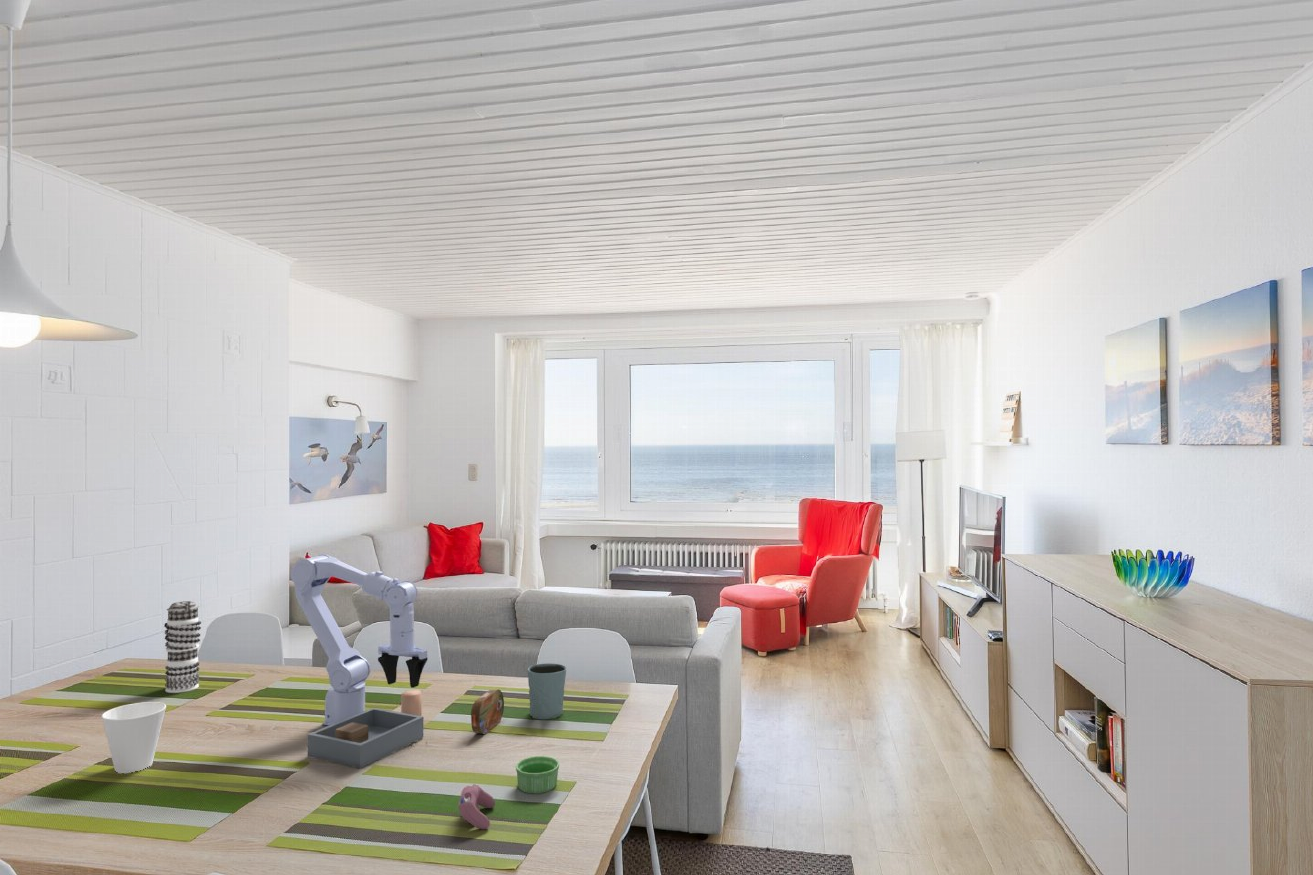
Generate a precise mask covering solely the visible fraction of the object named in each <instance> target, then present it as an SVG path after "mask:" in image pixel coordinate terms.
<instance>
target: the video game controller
mask: <svg viewBox="0 0 1313 875" xmlns="http://www.w3.org/2000/svg"><path fill="white" fill-rule="evenodd" d="M495 805H496V801H495V799H494V797H493V796H492V795H491V794H489V793H488V792H486V791H485V790H484V789H482V787H481V786H480V785H478V784H476V782H473V784H468V785H467V786H465V787H463V788H462V790H461V794H460V801H459V802H458V810H459V814H460V815H461V818H463V820H464V821H467V822H468V823H469V824H470V825H471V826H474V827H475V828H477V829H479V830H488V828H489V827H490V824H491V822H490V820H489V818H488V816H486V815H485V814H484V813H483V812H481V810H480V807H483V808H485V809H493V808H494V807H495ZM479 806H480V807H479Z"/></svg>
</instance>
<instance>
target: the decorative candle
mask: <svg viewBox="0 0 1313 875" xmlns="http://www.w3.org/2000/svg"><path fill="white" fill-rule="evenodd" d="M166 611H167V621H166V622H165V623H164V626H163V627H164V628H165V629H166V630H164V635H165V637H164V639H165V640H166V642H165V646H164V647H166V648H165V651H166V652H167V659H166V666H165V670H166V671H165V672H164V673H165V675H166V677H165V678H164V681H165V684H164V686H165V687H166V688H165V692H166V693H167V694H168V693H169V694H170V693H172V694H177V693H179V694H180V693H186V692H190V691H194V690H196V689H198V688H199V687H200V684H199V683H200V679H199V678H200V673H199V671H200V667H198V666H200V662H199V656H198V648H200V644H199V642H201V639H200V638H199V637H201V633H199V632H198V631H200V630H201V629H202V627H201V626H200V625H201V624H202V622H201V621H200V620H199V619H200V618H199V605H197V604H196V602H194V601H191V600H188V601H186V600H185V601H184V600H183V601H178V602H174V603H172V604H171V605H169V608H167V609H166Z"/></svg>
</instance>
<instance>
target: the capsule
mask: <svg viewBox="0 0 1313 875" xmlns="http://www.w3.org/2000/svg"><path fill="white" fill-rule="evenodd" d="M422 695H423V694H422V691H421V690H418V689H416V690H415V689H410V690H406V691H403V692H402V693H401V694H400V696H401V697H400V699H401V700H400V706H401V708H400V709H401V710H400V711H401V712H400V713H406V714H411V715H417V716H422V717H423V715H422V714H423V713H422V712H423V711H422V708H423V706H422V701H423V700H422V699H423V698H422Z"/></svg>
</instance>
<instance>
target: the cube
mask: <svg viewBox="0 0 1313 875" xmlns="http://www.w3.org/2000/svg"><path fill="white" fill-rule="evenodd" d="M368 731H369V725H363V724H358V723H353V722H352V723H350V724H347V725H345V726H342V727H340V728H338V729H335V738H338V739H343V740H348V741H352V742H357V743H362V742H364V741H366V740H368Z"/></svg>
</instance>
